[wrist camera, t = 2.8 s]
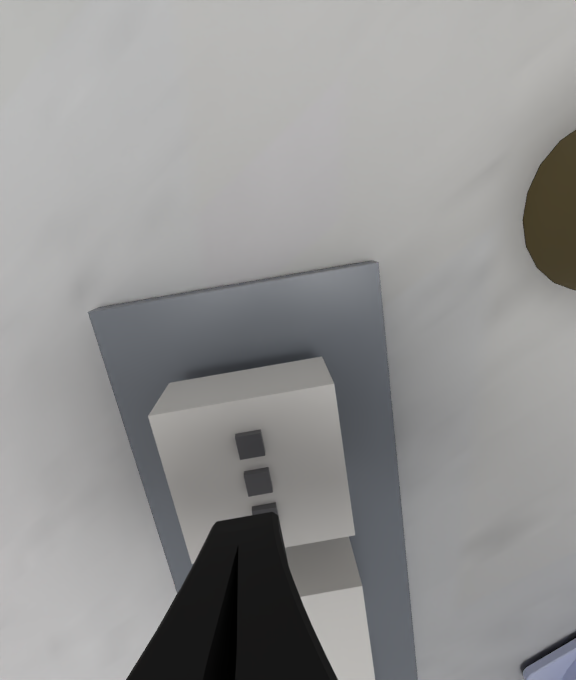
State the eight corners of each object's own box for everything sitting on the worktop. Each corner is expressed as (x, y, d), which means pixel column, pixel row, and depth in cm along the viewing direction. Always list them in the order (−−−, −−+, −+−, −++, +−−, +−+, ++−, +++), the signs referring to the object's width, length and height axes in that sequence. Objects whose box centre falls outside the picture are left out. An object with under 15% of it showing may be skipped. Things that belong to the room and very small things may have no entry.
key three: (341, 486, 14) (356, 540, 11) (203, 510, 14) (190, 569, 11) (322, 356, 12) (335, 386, 10) (169, 382, 12) (145, 419, 10)
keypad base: (416, 709, 20) (434, 767, 18) (232, 742, 20) (228, 804, 18) (372, 260, 14) (392, 266, 12) (97, 307, 14) (65, 322, 11)
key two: (361, 628, 16) (378, 700, 13) (241, 650, 16) (237, 726, 13) (347, 530, 14) (363, 591, 12) (215, 554, 14) (205, 619, 12)
